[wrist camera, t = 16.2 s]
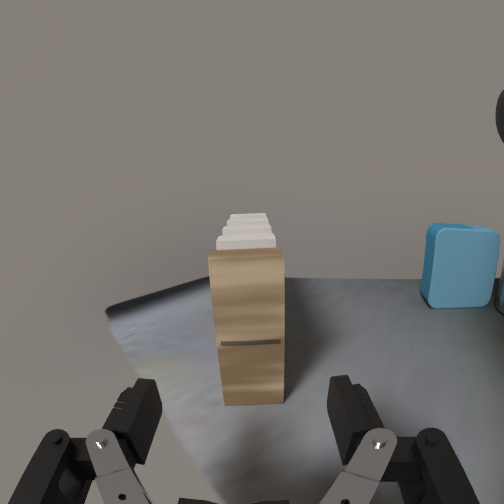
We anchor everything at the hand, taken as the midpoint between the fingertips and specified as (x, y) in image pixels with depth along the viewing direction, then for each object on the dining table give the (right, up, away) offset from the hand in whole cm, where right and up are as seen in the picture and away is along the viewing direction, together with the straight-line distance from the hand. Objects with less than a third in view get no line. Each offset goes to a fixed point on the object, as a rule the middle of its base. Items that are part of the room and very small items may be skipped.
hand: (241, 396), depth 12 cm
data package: (+32, -2, +25) cm, 41 cm away
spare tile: (+1, -6, +12) cm, 13 cm away
